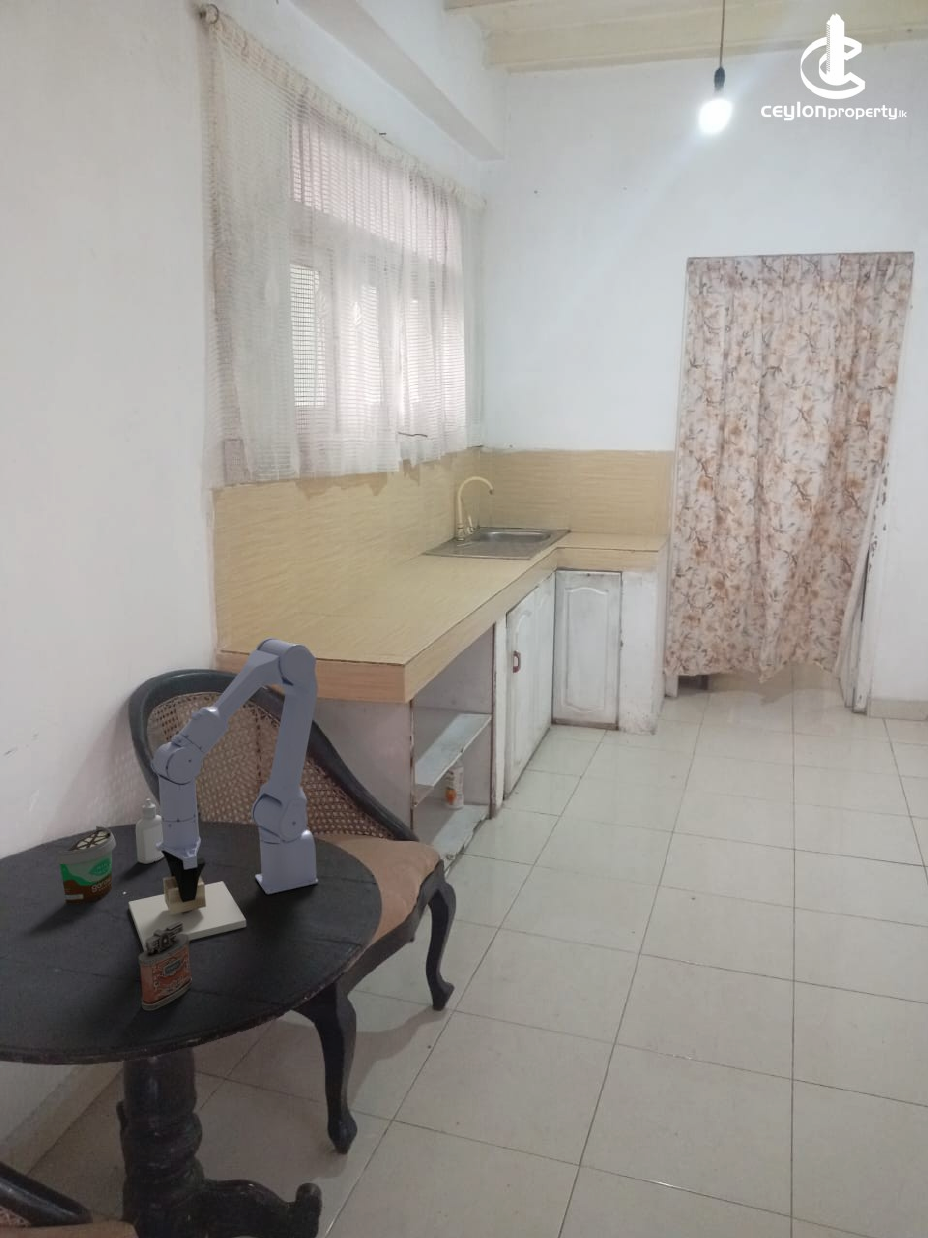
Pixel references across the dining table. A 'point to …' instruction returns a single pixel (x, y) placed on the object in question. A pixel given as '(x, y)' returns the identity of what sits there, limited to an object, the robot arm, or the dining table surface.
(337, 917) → the dining table surface
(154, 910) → the post board
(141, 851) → the eye dropper bottle
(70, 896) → the food container
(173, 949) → the lighter
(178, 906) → the maple sleeve
